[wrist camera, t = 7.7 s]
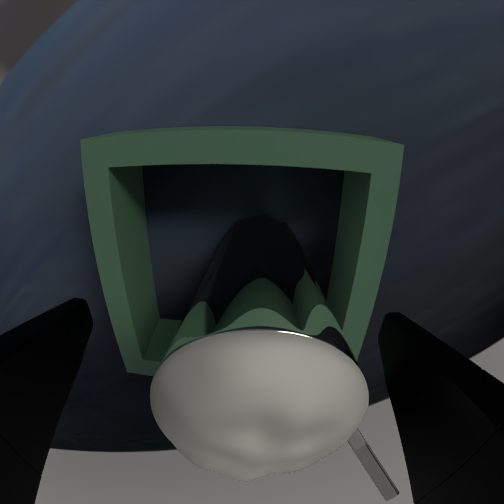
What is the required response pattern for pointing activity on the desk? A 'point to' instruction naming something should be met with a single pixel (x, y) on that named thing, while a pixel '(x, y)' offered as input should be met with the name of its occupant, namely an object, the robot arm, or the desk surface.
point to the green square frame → (232, 152)
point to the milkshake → (262, 366)
